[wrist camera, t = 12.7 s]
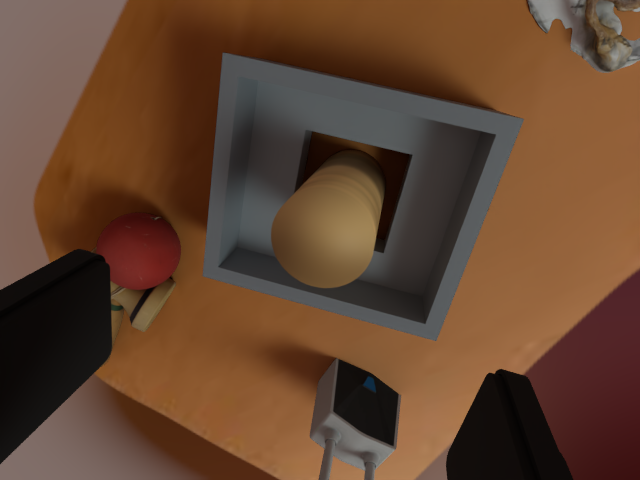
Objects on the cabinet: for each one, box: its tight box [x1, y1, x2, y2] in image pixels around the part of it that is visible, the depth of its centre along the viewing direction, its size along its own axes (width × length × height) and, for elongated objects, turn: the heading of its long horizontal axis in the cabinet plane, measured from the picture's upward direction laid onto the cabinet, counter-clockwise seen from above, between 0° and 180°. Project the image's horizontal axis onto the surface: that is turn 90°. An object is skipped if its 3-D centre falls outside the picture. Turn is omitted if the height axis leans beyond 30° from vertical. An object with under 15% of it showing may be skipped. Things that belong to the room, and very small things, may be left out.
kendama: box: [91, 213, 181, 367], centre depth 34 cm, size 8×6×18 cm
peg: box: [271, 150, 386, 288], centre depth 24 cm, size 5×5×11 cm
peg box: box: [203, 53, 524, 341], centre depth 26 cm, size 14×16×6 cm
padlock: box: [310, 358, 401, 480], centre depth 29 cm, size 7×4×15 cm, turn 61°
